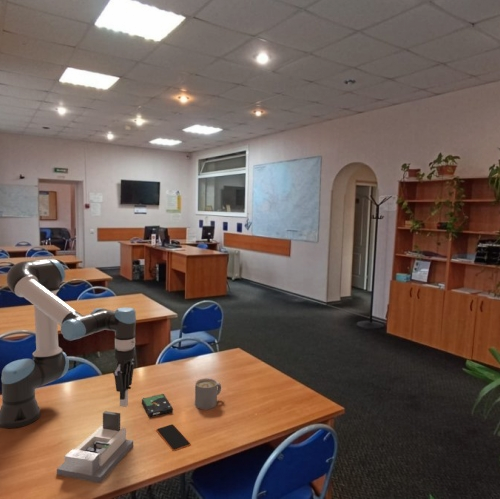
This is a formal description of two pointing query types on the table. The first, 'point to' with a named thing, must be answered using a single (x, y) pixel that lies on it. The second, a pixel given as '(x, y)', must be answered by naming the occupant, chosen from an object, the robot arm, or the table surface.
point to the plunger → (108, 428)
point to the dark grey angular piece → (95, 447)
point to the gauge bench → (101, 468)
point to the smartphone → (173, 437)
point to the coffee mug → (206, 393)
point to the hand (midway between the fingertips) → (123, 405)
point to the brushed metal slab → (82, 462)
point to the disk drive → (157, 405)
